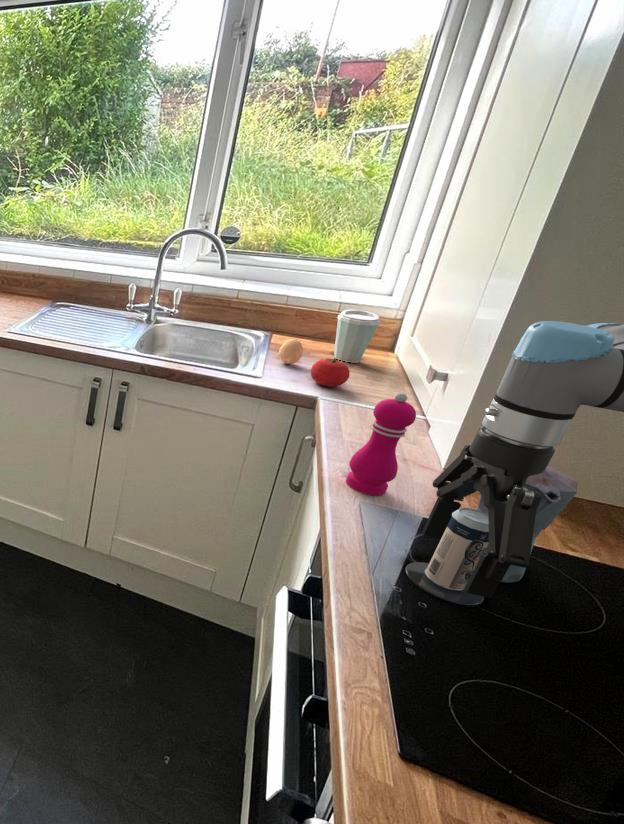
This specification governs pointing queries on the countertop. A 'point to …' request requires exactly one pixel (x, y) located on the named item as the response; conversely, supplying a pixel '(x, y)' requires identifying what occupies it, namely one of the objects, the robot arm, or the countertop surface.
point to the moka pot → (542, 506)
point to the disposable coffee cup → (354, 334)
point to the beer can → (459, 549)
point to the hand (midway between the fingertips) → (453, 563)
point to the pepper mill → (381, 447)
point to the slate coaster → (424, 583)
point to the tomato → (330, 372)
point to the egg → (291, 351)
